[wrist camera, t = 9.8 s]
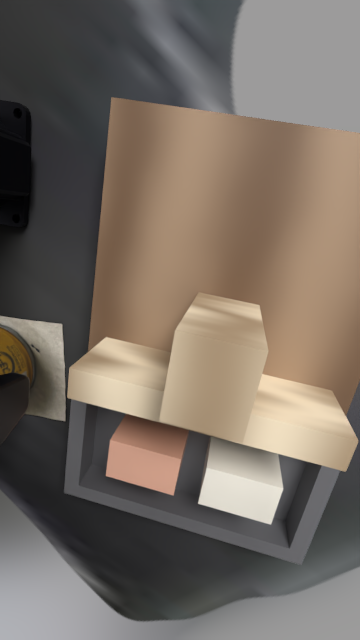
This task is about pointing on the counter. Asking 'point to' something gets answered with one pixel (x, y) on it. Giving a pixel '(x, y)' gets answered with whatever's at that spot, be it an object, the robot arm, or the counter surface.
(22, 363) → the condiment
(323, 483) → the tray
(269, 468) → the tile cream
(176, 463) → the tile terracotta
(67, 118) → the counter surface
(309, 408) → the t-shaped wooden block
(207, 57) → the counter surface
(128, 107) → the plate
